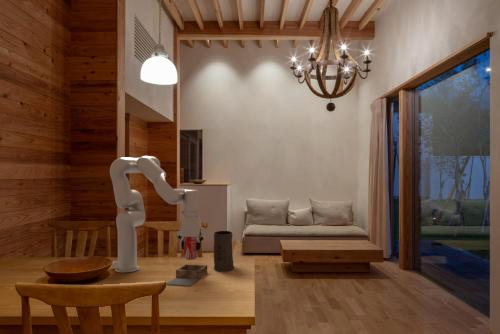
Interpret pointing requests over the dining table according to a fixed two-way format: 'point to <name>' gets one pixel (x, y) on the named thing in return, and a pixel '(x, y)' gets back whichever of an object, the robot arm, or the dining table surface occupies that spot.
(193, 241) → the soda can
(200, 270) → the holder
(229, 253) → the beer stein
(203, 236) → the robot arm
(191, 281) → the mat
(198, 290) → the dining table surface
